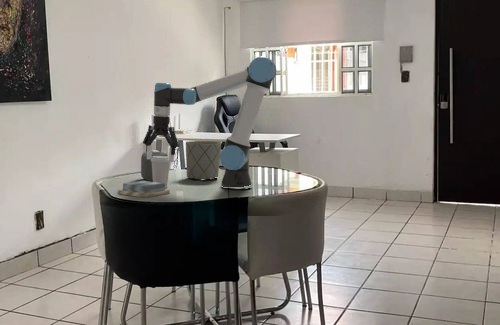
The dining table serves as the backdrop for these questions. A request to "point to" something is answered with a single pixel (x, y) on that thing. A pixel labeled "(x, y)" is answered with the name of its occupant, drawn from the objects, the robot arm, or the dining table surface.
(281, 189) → the dining table surface
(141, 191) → the pedestal
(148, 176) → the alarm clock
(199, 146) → the planter
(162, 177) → the coffee cup
